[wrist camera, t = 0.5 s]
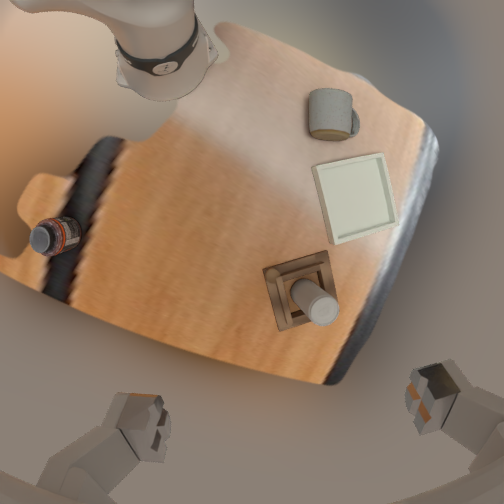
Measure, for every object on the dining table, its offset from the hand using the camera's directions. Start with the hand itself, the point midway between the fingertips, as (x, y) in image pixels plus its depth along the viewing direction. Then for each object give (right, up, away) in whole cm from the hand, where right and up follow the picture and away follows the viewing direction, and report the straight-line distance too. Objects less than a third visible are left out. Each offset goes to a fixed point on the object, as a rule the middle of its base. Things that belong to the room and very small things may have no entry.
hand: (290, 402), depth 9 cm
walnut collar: (+8, -2, +47) cm, 48 cm away
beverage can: (+8, -2, +48) cm, 48 cm away
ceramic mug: (+13, +29, +44) cm, 54 cm away
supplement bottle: (-34, +8, +41) cm, 54 cm away
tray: (+18, +15, +46) cm, 52 cm away
